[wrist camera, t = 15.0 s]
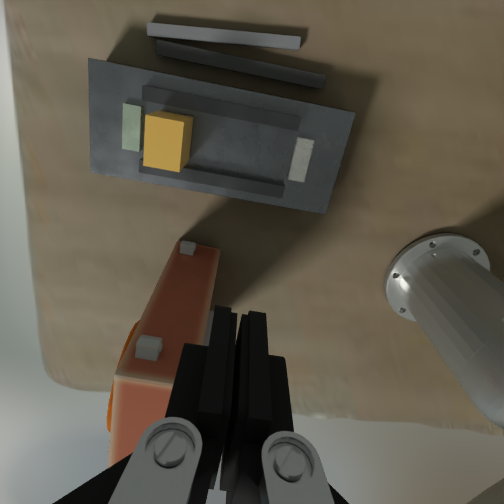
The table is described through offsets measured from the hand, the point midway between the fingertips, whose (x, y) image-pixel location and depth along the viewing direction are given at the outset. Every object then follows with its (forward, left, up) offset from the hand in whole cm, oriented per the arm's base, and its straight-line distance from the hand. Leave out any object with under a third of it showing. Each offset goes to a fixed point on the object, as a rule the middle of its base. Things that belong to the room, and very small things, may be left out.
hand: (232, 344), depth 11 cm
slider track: (+3, -2, -29) cm, 29 cm away
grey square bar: (+4, -11, -29) cm, 31 cm away
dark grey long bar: (+2, -9, -29) cm, 31 cm away
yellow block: (+7, -2, -25) cm, 26 cm away
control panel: (+4, +17, -29) cm, 34 cm away
